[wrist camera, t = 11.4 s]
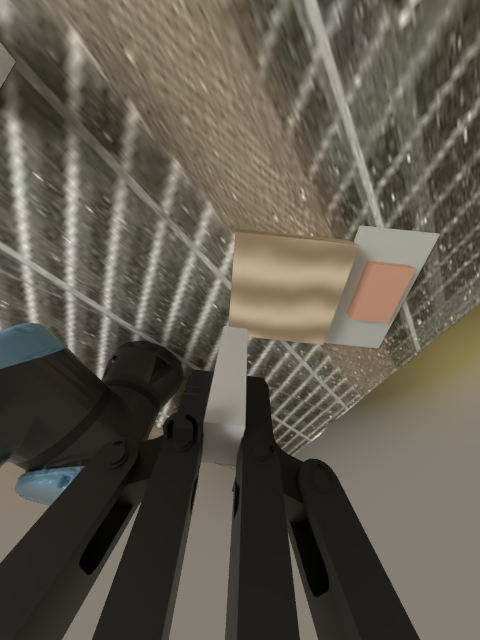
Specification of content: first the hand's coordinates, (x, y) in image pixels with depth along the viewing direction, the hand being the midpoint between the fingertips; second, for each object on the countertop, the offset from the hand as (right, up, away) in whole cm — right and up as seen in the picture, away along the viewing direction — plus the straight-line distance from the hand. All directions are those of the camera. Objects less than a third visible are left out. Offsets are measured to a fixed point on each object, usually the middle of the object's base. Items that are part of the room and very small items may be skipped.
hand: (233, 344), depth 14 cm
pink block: (+22, +5, +18) cm, 29 cm away
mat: (+22, +6, +20) cm, 30 cm away
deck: (+7, +7, +20) cm, 23 cm away
